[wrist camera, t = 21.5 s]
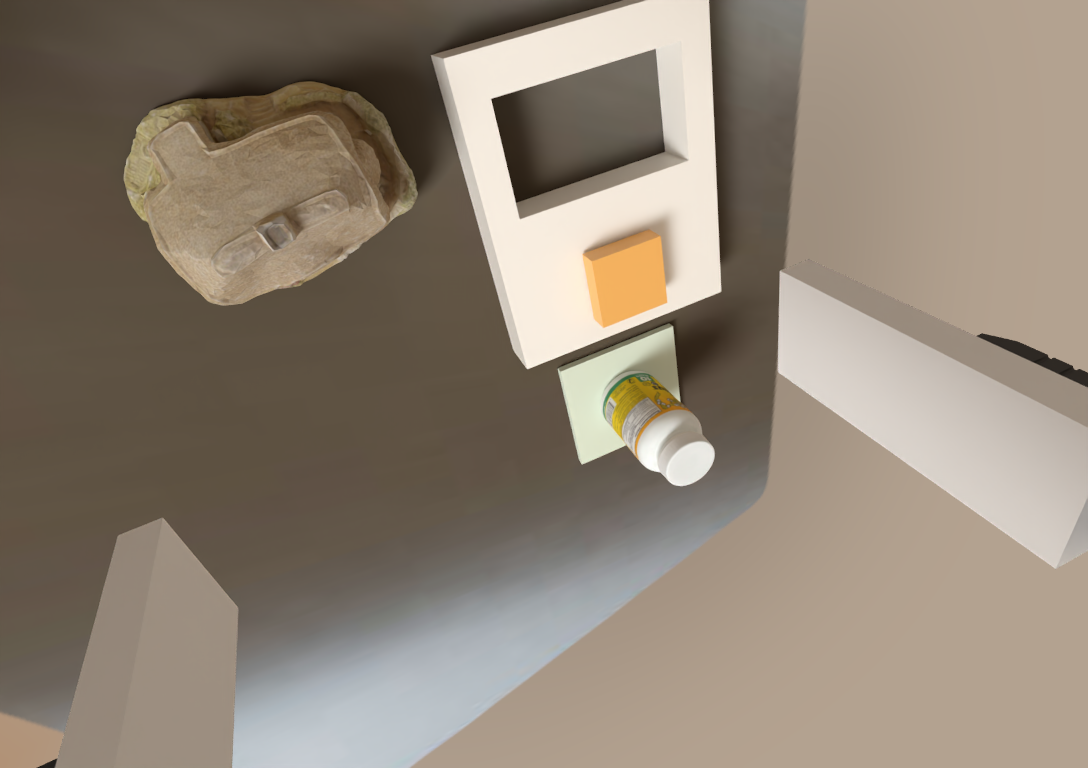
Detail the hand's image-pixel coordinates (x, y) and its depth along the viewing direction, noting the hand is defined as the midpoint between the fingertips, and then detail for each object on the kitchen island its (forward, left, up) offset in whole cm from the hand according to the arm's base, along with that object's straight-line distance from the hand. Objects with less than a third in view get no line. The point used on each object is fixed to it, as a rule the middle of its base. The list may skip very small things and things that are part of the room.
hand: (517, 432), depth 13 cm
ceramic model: (-4, 0, -29) cm, 29 cm away
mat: (+14, -24, -29) cm, 40 cm away
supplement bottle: (+14, -24, -28) cm, 40 cm away
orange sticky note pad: (+14, -12, -28) cm, 34 cm away
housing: (+14, -6, -29) cm, 32 cm away
